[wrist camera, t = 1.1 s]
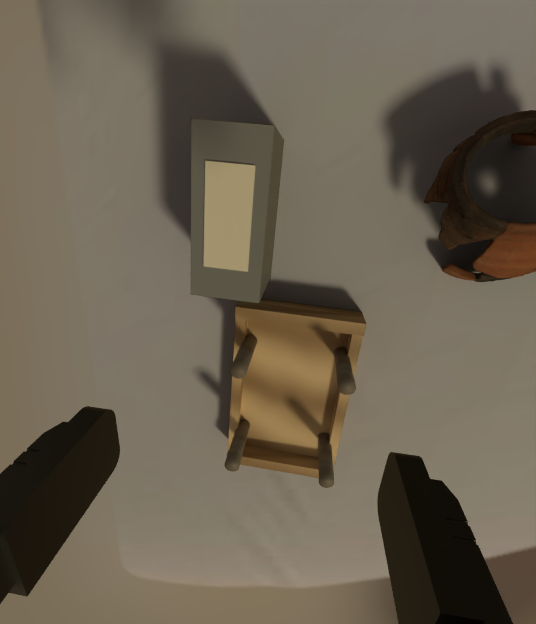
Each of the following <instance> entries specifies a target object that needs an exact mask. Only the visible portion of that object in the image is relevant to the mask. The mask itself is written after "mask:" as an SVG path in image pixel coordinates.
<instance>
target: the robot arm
mask: <svg viewBox="0 0 536 624" xmlns="http://www.w3.org/2000/svg"><path fill="white" fill-rule="evenodd" d="M119 454H120V446H119V439H118V432H117V425H116V417H115V413H114V411H112V410H109V409H102V408H95V407H89V406H87V407H84V408H82V409H81V410H80V411H79V412H78V413H77V414H76V415H75V416H74V417H73V418H72V419H71V420H70V421H69V422H62V423H60V424H59V425H57V426H55V427H53V428H52V429H50V430H48V431H46V432H45V433H44V434H42V435H41V436H40V437H39V438H38V439H37V440H36V441H35V442H34V443H33V444H31V445H30V447H28V448H27V451H26V452H23V453H22V454H21V455H20V456H19V457H18V458H17V459H16V460H15V461H14V463H13V464H12V465H9V466H8V467H7V468H6V469H5V470H4V471H3V472H2V473H1V474H0V604H1V602H2V601H3V599H4V598H5V597H6V595H7V594H8V593H14V594H18V595H23V596H28V595H29V593H30V592H31V590H32V589H33V588H34V586H35V585H36V583H37V581H38V580H39V579H40V577H41V576H42V574H43V573H44V571H45V570H46V569H47V567H48V566H49V564H50V563H51V561H52V560H53V558H54V557H55V555H56V554H57V553H58V551H59V550H60V548H61V547H62V545H63V544H64V542H65V541H66V539H67V538H68V536H69V535H70V533H71V532H72V531H73V529H74V528H75V526H76V525H77V523H78V522H79V520H80V519H81V518H82V516H83V515H84V513H85V512H86V510H87V509H88V507H89V506H90V504H91V503H92V501H93V500H94V499H95V497H96V496H97V494H98V493H99V491H100V490H101V488H102V487H103V485H104V484H105V483H106V481H107V480H108V478H109V477H110V475H111V474H112V472H113V471H114V469H115V467H116V465H117V462H118V459H119ZM378 516H379V522H380V527H381V532H382V538H383V543H384V548H385V554H386V559H387V564H388V569H389V575H390V580H391V585H392V591H393V596H394V601H395V606H396V612H397V617H398V622H399V624H513V623H512V621H511V618H510V616H509V614H508V612H507V609H506V607H505V605H504V602H503V600H502V598H501V596H500V593H499V591H498V589H497V587H496V584H495V582H494V580H493V578H492V575H491V573H490V571H489V569H488V566H487V564H486V562H485V560H484V557H483V555H482V553H481V551H480V548H479V546H478V545H476V539H475V537H474V535H473V533H472V530H471V528H470V526H468V524H467V523H468V521H467V519H466V517H465V515H464V512H463V510H462V508H461V506H460V503H459V501H458V499H457V498H456V497H455V496H454V495H453V494H452V492H451V491H450V490H449V489H448V488H447V486H446V485H445V484H444V483H443V482H442V481H440V480H433V479H430V478H429V475H428V472H427V470H426V467H425V464H424V462H423V460H422V458H421V457H420V456H414V455H407V454H401V453H394V452H391V453H390V454H389V456H388V459H387V462H386V466H385V470H384V473H383V477H382V481H381V484H380V488H379V492H378Z"/></svg>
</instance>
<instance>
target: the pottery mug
mask: <svg viewBox="0 0 536 624" xmlns="http://www.w3.org/2000/svg"><path fill="white" fill-rule="evenodd" d="M509 134H512V135H511V137H512V142H513V144H515V145H524V146H536V111H535V110H530V111H522V112H518V113H514V114H511V115H507V116H503V117H500V118H498V119H496V120H493V121H492V122H489V123H488V124H486V125H485V126H483V127H482V128H480V129H479V130H478V131H477V132H476V133H475V135H473V136H471V137H469V138H468V139H466V140H465V141H463V142H462V143H460V144H459V145H458V146H456V147H455V148H454V150H453V153H452V154H450V155H449V156H447V157H446V158H445V160H444V162H443V163H442V165H441V167H440V170H439V171H438V175H437V177H436V179H435V181H434V182H433V184H432V186H431V188H430V190H429V191H428V193H427V195H426V197H425V200H424V203H430V202H442V203H448V207H447V208H446V210H445V211H444V212H443V214H442V218H441V223H440V224H441V231H440V233H439V240H440V242H441V243H442V244H443V246H444V247H445V248H446V249H448V250H451V249H453V248H454V247H456V246H457V245H458V244H468V243H471V242H475V241H482V240H489V239H491V242H490V243H489V245H488V246H487V248H486V249H485V250H484V252H483V253H482V254H481V255H479V256H478V257H477V258H475V260H474V261H473V268H474V269H475V270H476V271H479V272H481V273H473V272H470V271H467V270H464V269H462V268H460V267H457V266H455V265H453V264H451V263H449V264H447V265H446V266H444V267H443V268H442V271H443V272H445V273H447V274H449V275H451V276H453V277H456V278H460V279H465V280H473V281H476V282H487V281H495V280H503V279H509V278H513V277H518V276H523V275H525V274H529V273H532V272H535V271H536V222H535V223H517V222H505V221H503V220H501V219H499V218H496V217H494V216H492V215H490V214H488V213H487V212H485V211H484V210H483V209H482V208H481V207H480V206H479V205H478V204H477V203H476V202H475V201H474V200H473V198H472V196H471V194H470V193H469V190H468V188H467V186H466V173H467V167H468V164H469V162H470V160H471V158H472V157H473V155H474V154H475V153H476V152H477V151H478V150H479V149H480V148H481V147H483V146H484V145H486V144H487V143H489V142H491V141H492V140H494V139H496V138H499V137H501V136H505V135H509Z"/></svg>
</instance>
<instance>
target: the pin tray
mask: <svg viewBox="0 0 536 624" xmlns="http://www.w3.org/2000/svg"><path fill="white" fill-rule="evenodd" d="M235 319H236V322H235V339H234V356H233V364H232V366H231V368H230V373H231V375H232V389H231V406H230V423H229V440H228V453H227V458H226V462H225V467H226V469H227V470H229V471H237V470H238V469H239V466H240V464H241V465H247V466H252V467H258V468H264V469H270V470H276V471H281V472H287V473H293V474H299V475H305V476H310V477H316V478H319V484H320V485H321V486H322V487H325V488H329V487H332V486H333V485H334V473H333V468H334V463H335V459H336V454H337V450H338V445H339V441H340V436H341V432H342V427H343V423H344V418H345V414H346V409H347V405H348V400H349V396H350V394H352V393H354V392H355V390H356V385H355V381H354V373H355V369H356V364H357V360H358V355H359V351H360V346H361V342H362V337H363V336H364V332H365V328H366V322H365V319H364V317H363V314H362V312H358V311H350V310H342V309H335V308H327V307H319V306H312V305H304V304H296V303H288V302H281V301H273V300H265V299H261V300H260V302H259V303H252V302H245V301H239V302H238V304H237V305H236V309H235Z"/></svg>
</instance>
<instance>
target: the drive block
mask: <svg viewBox="0 0 536 624" xmlns="http://www.w3.org/2000/svg"><path fill="white" fill-rule="evenodd" d="M283 146H284V139H283V138H282V136H281V135H280V133H279V132H278V130H277V129H276V127H275V126H273V125H262V124H250V123H238V122H227V121H215V120H203V119H192V118H191V295H199V296H206V297H214V298H222V299H229V300H237V301H245V302H252V303H259V302H260V300H261V298H262V295H263V293H264V291H265V289H266V286H267V284H268V282H269V279H270V277H271V268H272V258H273V248H274V238H275V227H276V217H277V207H278V197H279V187H280V176H281V166H282V156H283Z"/></svg>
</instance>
